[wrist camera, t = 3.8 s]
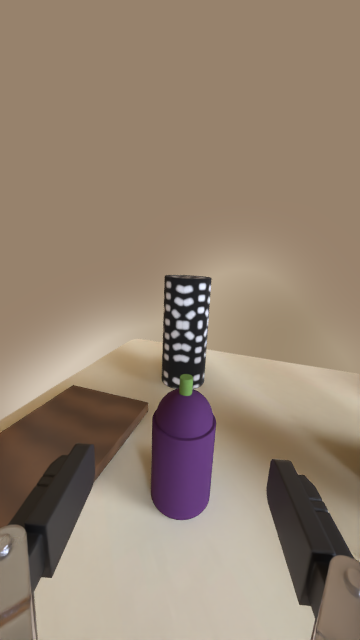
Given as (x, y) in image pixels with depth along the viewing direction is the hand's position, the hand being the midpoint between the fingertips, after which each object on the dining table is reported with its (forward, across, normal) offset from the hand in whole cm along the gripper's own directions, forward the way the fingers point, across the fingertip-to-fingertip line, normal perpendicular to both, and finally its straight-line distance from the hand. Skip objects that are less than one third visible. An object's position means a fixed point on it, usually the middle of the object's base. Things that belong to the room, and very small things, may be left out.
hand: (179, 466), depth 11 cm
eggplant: (+11, 0, +14) cm, 18 cm away
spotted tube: (+36, +1, +14) cm, 38 cm away
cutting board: (+15, +15, +14) cm, 26 cm away
